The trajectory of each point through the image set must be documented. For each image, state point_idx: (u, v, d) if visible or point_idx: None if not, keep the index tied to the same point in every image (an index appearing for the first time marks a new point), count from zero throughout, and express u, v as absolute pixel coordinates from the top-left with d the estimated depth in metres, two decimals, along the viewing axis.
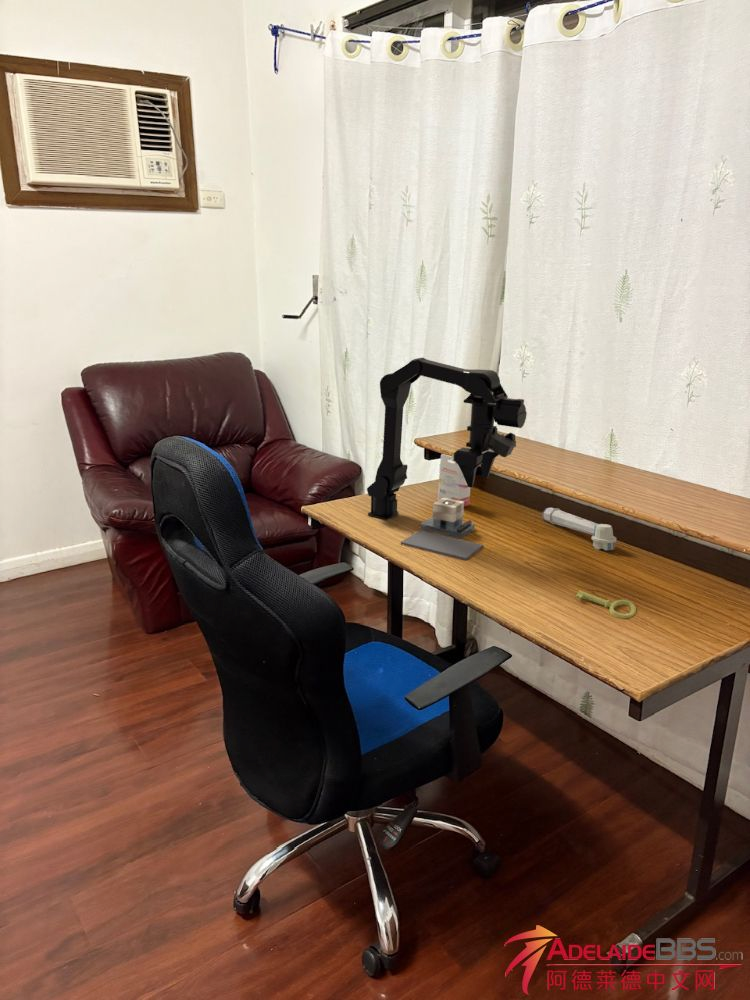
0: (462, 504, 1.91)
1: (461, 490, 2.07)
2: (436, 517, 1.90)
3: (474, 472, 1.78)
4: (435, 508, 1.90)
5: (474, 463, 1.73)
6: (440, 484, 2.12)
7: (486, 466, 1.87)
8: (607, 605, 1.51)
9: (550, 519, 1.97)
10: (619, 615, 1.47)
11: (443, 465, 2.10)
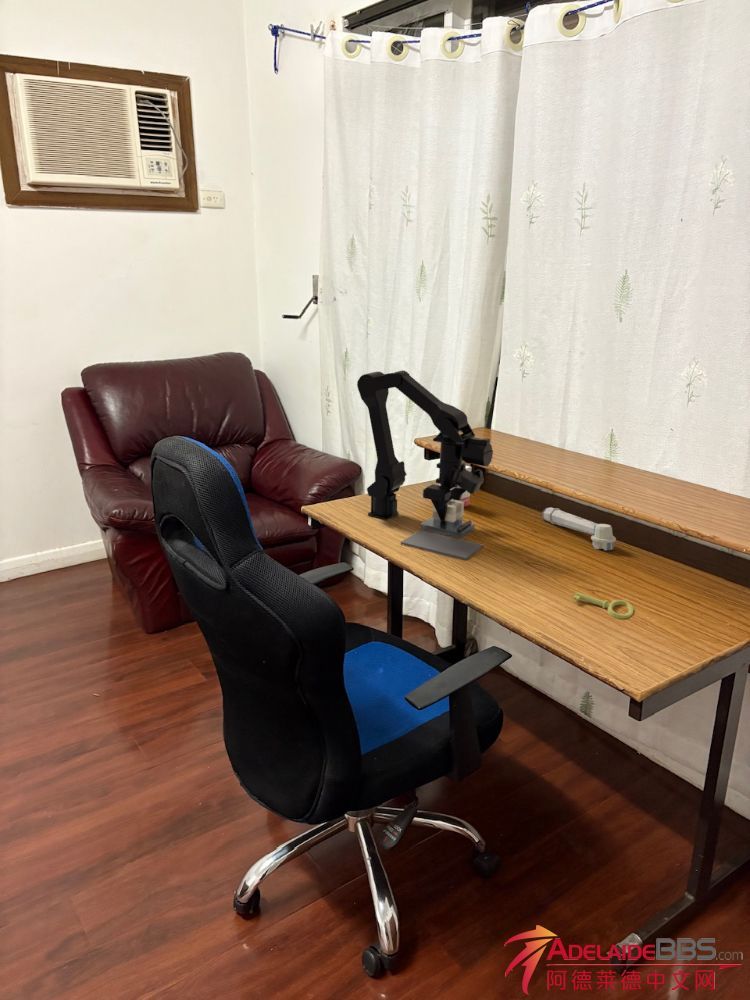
0: (462, 504, 1.91)
1: None
2: (436, 517, 1.90)
3: (445, 506, 1.86)
4: None
5: (442, 500, 1.81)
6: None
7: None
8: (605, 606, 1.51)
9: (550, 519, 1.97)
10: (619, 615, 1.47)
11: None
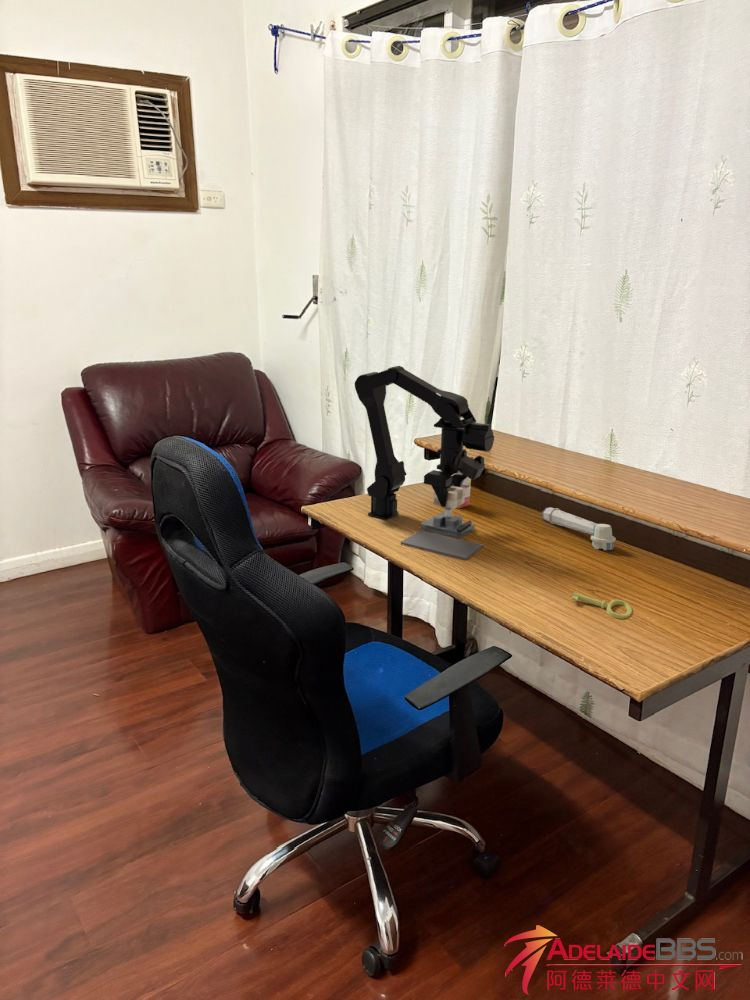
0: (463, 491, 1.90)
1: None
2: (437, 504, 1.89)
3: (446, 492, 1.85)
4: (436, 495, 1.89)
5: (443, 486, 1.79)
6: None
7: None
8: (604, 606, 1.51)
9: (550, 519, 1.97)
10: (618, 616, 1.47)
11: None
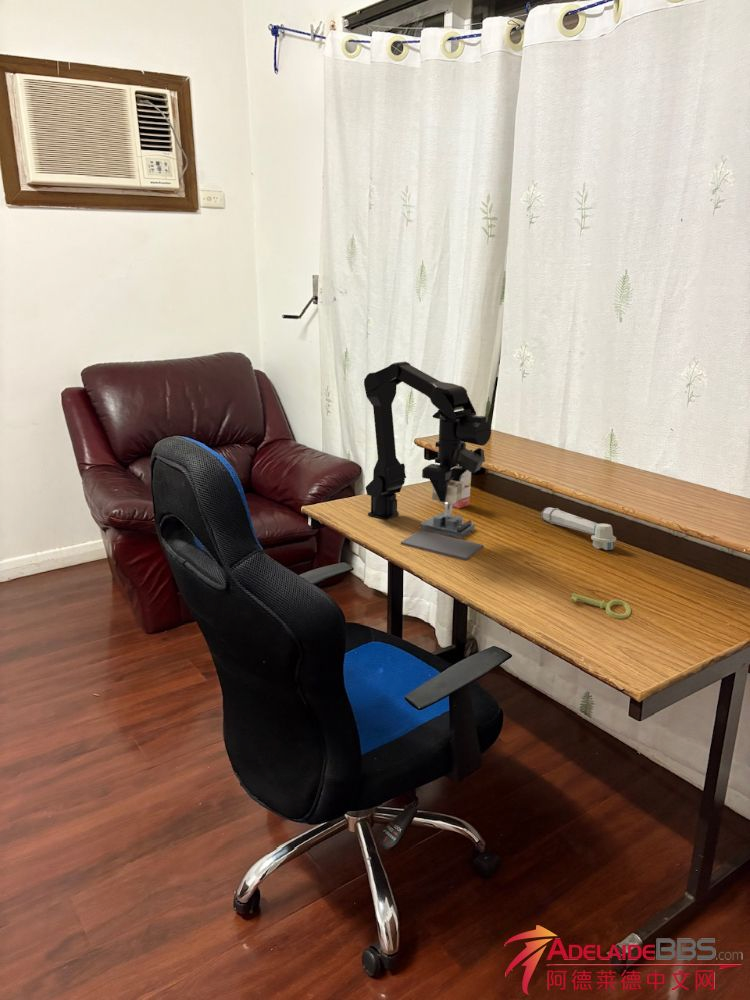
0: (463, 485, 1.83)
1: None
2: (436, 499, 1.82)
3: (446, 487, 1.78)
4: (434, 489, 1.81)
5: (443, 479, 1.72)
6: None
7: None
8: (603, 606, 1.51)
9: (549, 519, 1.97)
10: (617, 615, 1.47)
11: None
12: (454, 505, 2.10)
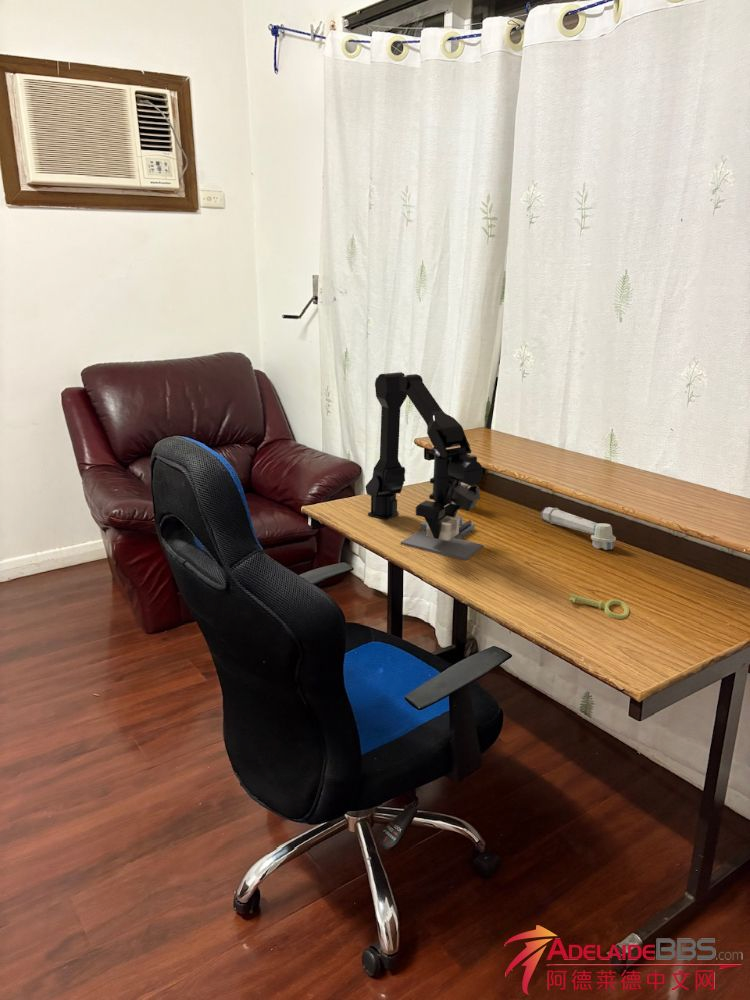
0: (457, 521, 1.80)
1: None
2: (430, 535, 1.80)
3: (440, 524, 1.76)
4: None
5: (436, 518, 1.70)
6: None
7: None
8: (601, 606, 1.51)
9: (549, 519, 1.97)
10: (617, 616, 1.47)
11: None
12: None
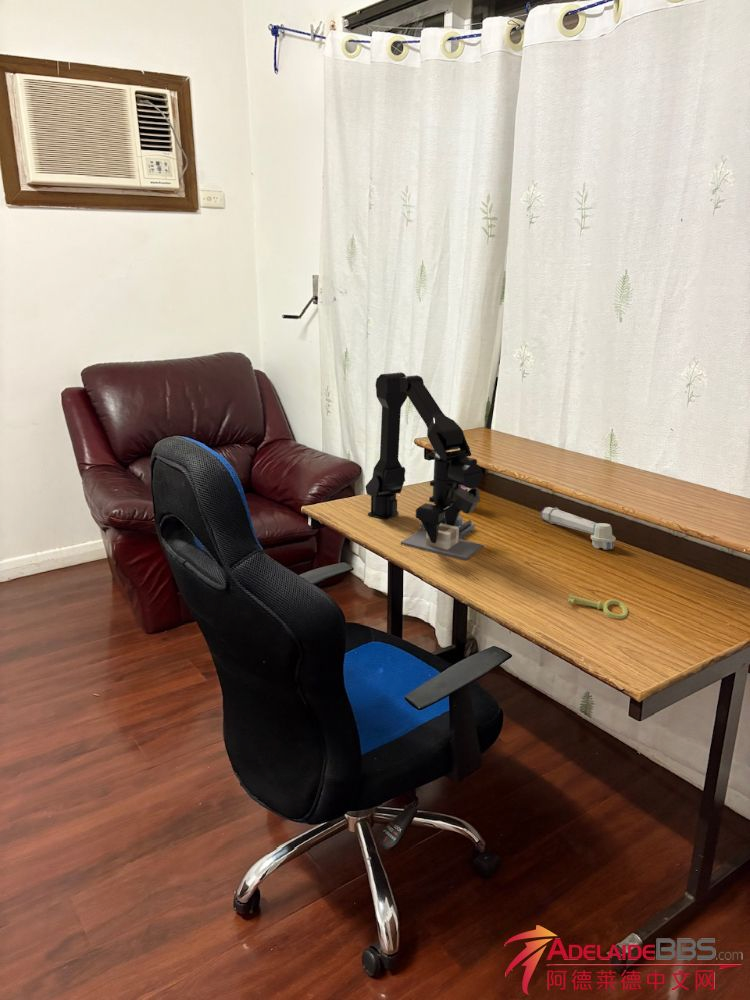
0: (457, 530, 1.81)
1: None
2: (429, 544, 1.80)
3: (437, 528, 1.75)
4: None
5: (436, 521, 1.70)
6: None
7: (450, 520, 1.84)
8: (600, 607, 1.51)
9: (549, 518, 1.97)
10: (616, 616, 1.47)
11: None
12: None
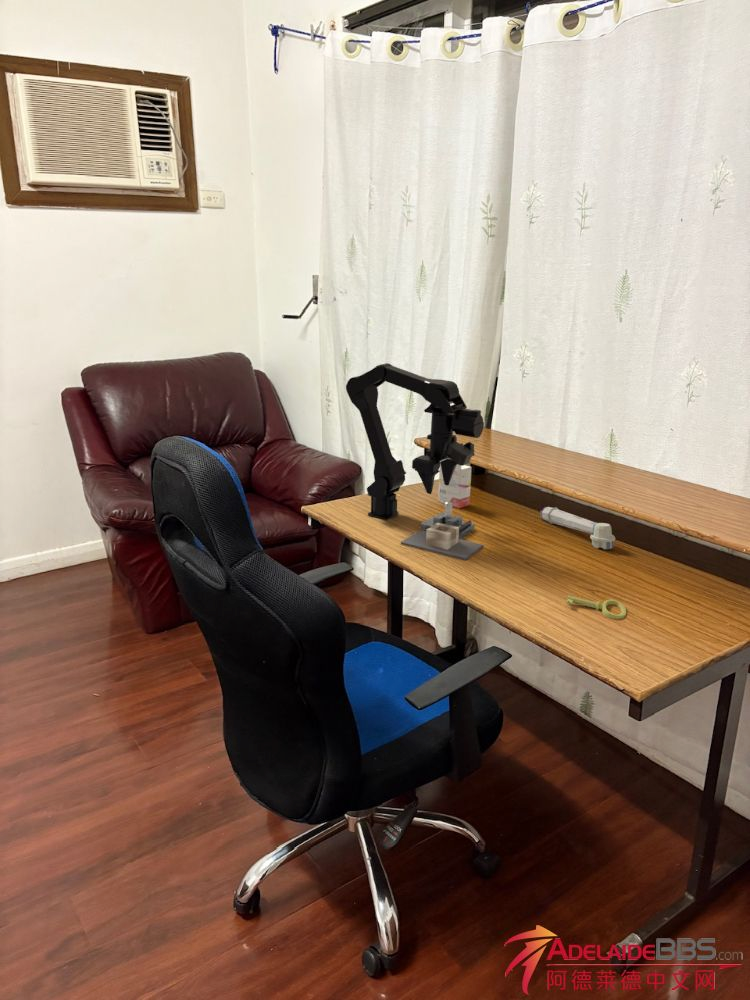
0: (457, 530, 1.81)
1: (461, 490, 2.07)
2: (429, 544, 1.80)
3: (432, 479, 1.84)
4: (428, 535, 1.80)
5: (431, 471, 1.80)
6: (440, 484, 2.12)
7: (447, 474, 1.93)
8: (598, 607, 1.50)
9: (548, 518, 1.98)
10: (616, 616, 1.47)
11: None
12: (454, 505, 2.10)
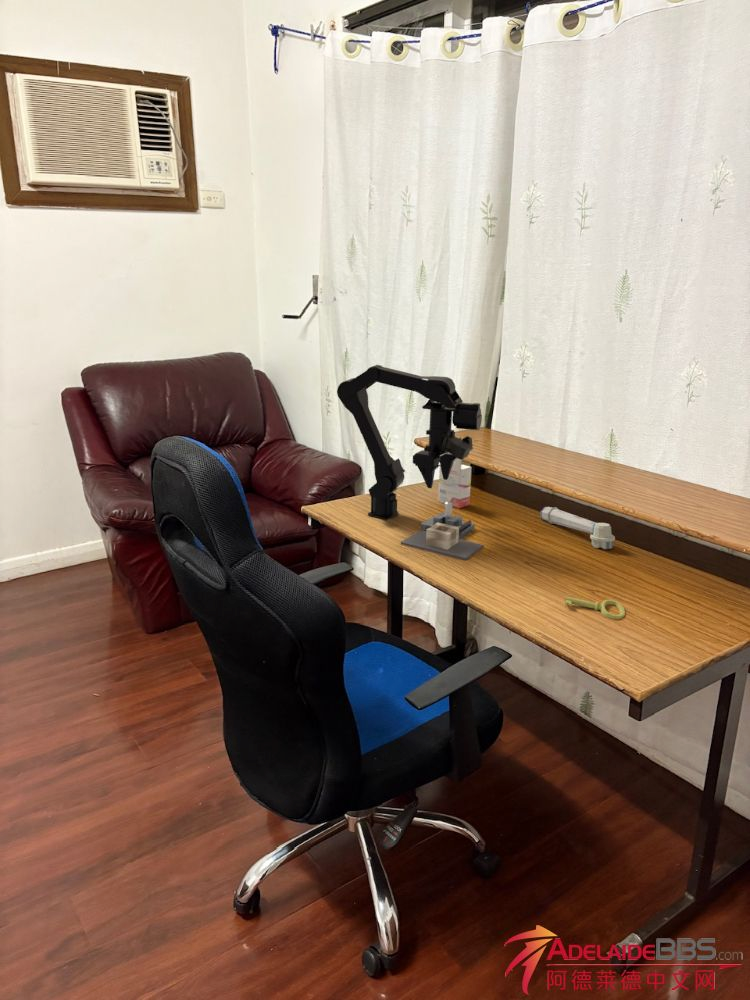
0: (457, 530, 1.81)
1: (461, 490, 2.07)
2: (429, 544, 1.80)
3: (432, 474, 1.88)
4: (428, 535, 1.80)
5: (431, 465, 1.83)
6: (440, 484, 2.12)
7: (445, 468, 1.97)
8: (597, 608, 1.50)
9: (548, 518, 1.98)
10: (615, 616, 1.47)
11: None
12: (454, 505, 2.10)
